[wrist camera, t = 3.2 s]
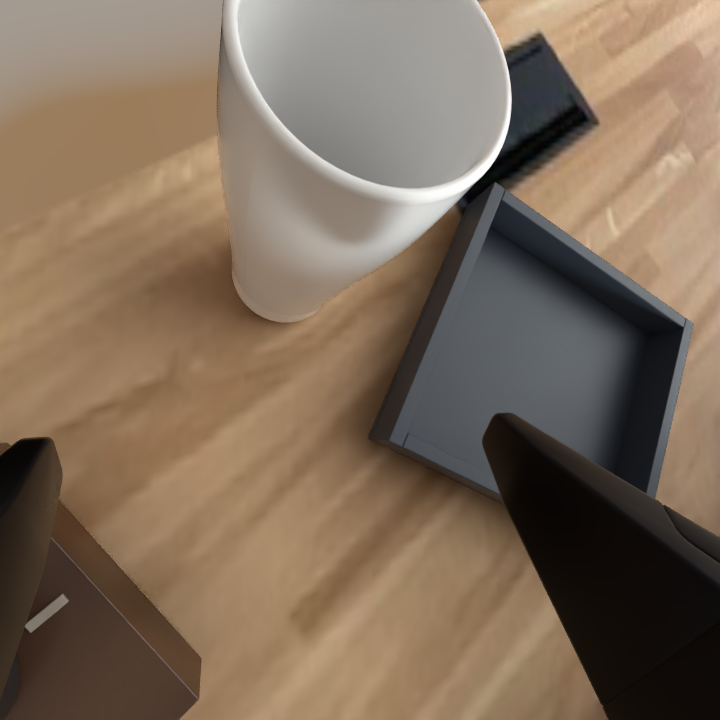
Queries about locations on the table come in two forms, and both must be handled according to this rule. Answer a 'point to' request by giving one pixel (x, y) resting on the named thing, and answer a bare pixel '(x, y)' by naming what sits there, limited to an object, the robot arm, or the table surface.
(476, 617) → the table surface
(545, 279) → the tray
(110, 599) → the control box
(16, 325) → the table surface
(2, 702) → the dial
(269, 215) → the drinking glass
